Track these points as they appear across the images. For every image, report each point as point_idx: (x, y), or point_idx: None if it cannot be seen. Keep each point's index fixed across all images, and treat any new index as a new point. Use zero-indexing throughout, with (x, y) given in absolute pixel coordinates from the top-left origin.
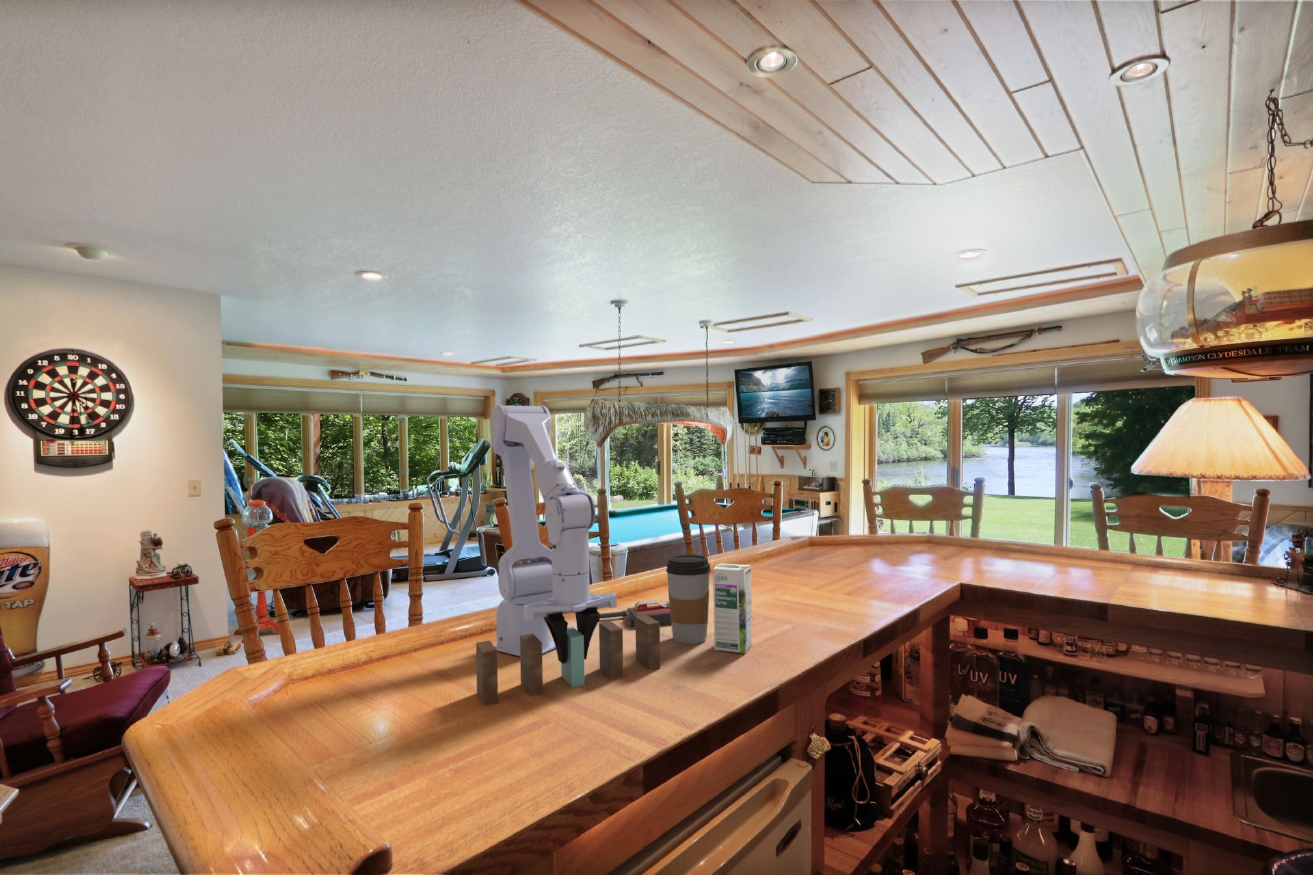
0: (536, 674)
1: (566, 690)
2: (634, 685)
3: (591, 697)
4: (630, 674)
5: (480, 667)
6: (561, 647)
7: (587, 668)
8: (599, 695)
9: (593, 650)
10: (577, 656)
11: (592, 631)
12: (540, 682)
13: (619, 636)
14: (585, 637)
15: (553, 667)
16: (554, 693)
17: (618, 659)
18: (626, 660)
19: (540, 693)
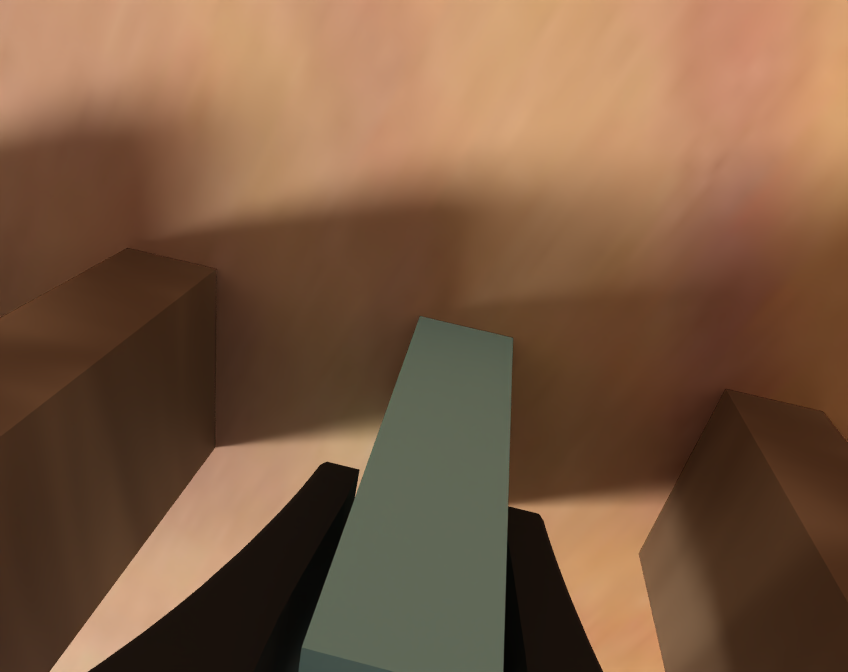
0: (837, 501)
1: (574, 320)
2: (110, 40)
3: (511, 74)
4: (70, 243)
5: None
6: (578, 642)
7: (277, 493)
8: (438, 63)
9: None
10: (440, 469)
11: (131, 657)
12: (774, 442)
13: None
14: (263, 626)
15: None
16: (670, 335)
17: (73, 311)
18: None
19: (744, 394)
